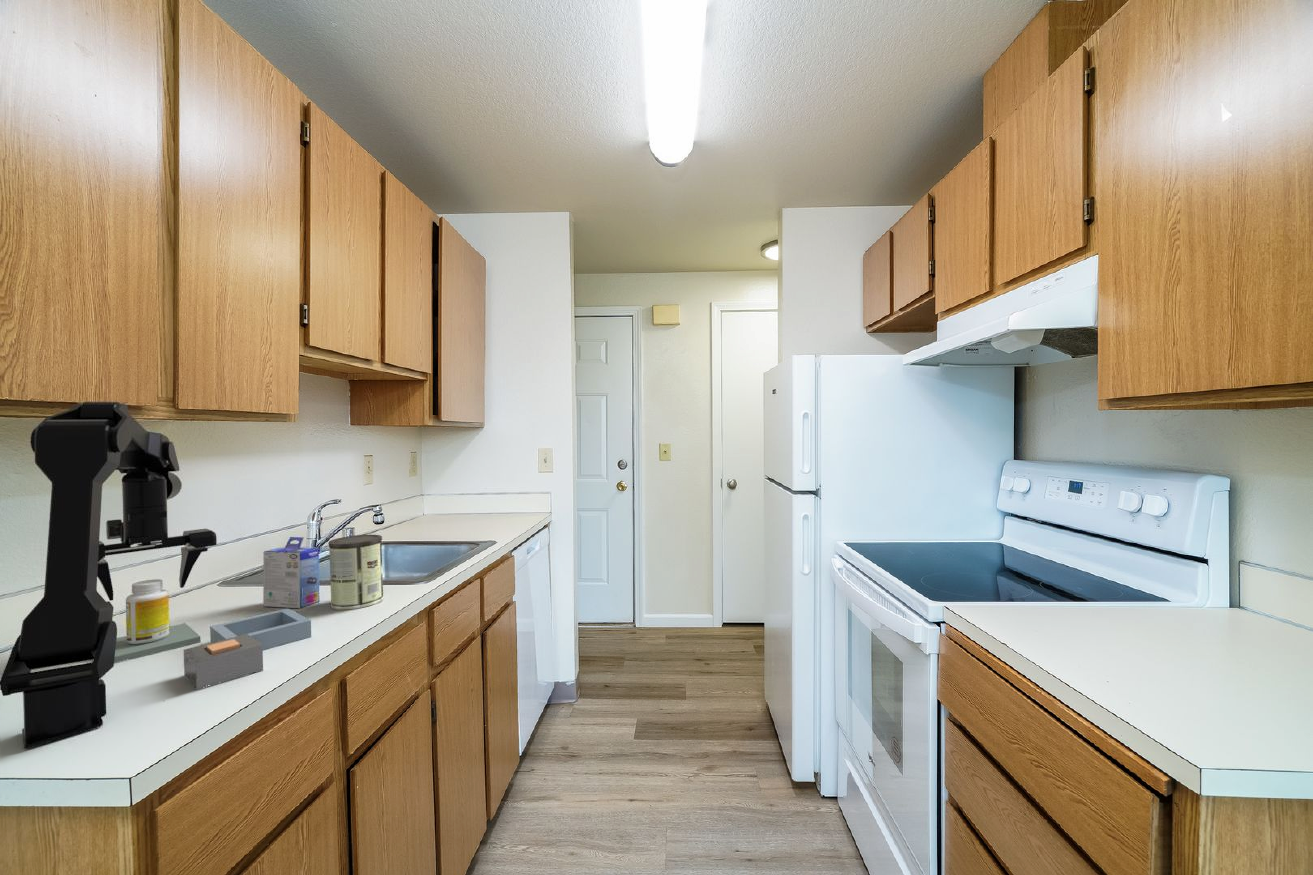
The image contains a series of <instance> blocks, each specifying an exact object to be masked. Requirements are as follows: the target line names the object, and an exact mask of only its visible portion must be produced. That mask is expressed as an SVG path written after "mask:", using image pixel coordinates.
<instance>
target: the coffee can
mask: <svg viewBox="0 0 1313 875" xmlns="http://www.w3.org/2000/svg"><path fill="white" fill-rule="evenodd" d="M382 541H383V536H382V535H380V534H358V535H349V536H348V535H347V536H343V537H338V538H334V539H332V540H329V541H328V546H329V550H328V551H329V575H330V576H329V578H330V579H329V580H330V603H331V604H330V608H331V609H333V610H338V611H339V610H341V611H345V610H357V609H362V608H367V607H371V606H374V605H377V604H379V603H381V602H383V601H384V582H383V581H384V580H383V579H384V578H383V551H382V550H383V548H382V545H383V544H382Z"/></svg>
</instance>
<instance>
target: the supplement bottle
mask: <svg viewBox="0 0 1313 875" xmlns="http://www.w3.org/2000/svg"><path fill="white" fill-rule="evenodd" d="M169 602H170V595H169V591H168V590H167V589H164V587H163V580H162V579H157V578H155V579H146V580H143V581H138V582H134V583H132V584H131V594H130V595H128V596H127V597H126V598H125V621H126V622H125V627H126V636H127V642H128V643H130V644H143V643H149V642H153V641H157V640H160V639H162V638H165V637H166V636H167V635H168V634H169V626H170V604H169Z"/></svg>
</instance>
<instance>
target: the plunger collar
mask: <svg viewBox="0 0 1313 875" xmlns="http://www.w3.org/2000/svg"><path fill="white" fill-rule="evenodd" d="M232 639H234V640H236V641H237V642H238V643H239V644H240V647H238V648H234V649H230V650H226V651H222V652H218V653H215V654H211V655H210V654H209V653H208V652H207V647H206V646H208V645H212V644H216V643H220V642H224V641H228V640H232ZM263 651H264V650H263V645H262V644H261V643H259V642H258V641H256V640H255V639H254V638H252V637H251V636H249V635H248V634H245V635H241V636H237V637H233V638H229V639H225V640H221V641H217V642H212V643H211V642H209V643H205V644H204V643H203V644H201V645H197V646H193V647H189V648H185V649H183V676H184V677H185V678H186V680H187V681H188V682H189V681H190V682H191V683H190V682H189V683H190V684H191V685H192V686H193V685H194V686H193V688H194V689H195V688H196V689H199V690H202V689H201V688H203V687H206V686H208V685H213V686H215V685H214V684H216V685H218V684H217V683H219V682H223V681H226V682H229V681H232V680H231V679H233V680H236V679H239V678H238V677H240V676H243V677H245V676H244V675H246V676H248V675H247V674H250V673H253V672H256V673H259V672H258V671H260V672H262V670H263V671H264V655H263V654H264V653H263ZM253 674H254V673H253ZM250 675H251V674H250ZM235 678H236V679H235ZM240 678H241V677H240ZM228 680H229V681H228ZM223 683H224V682H223ZM219 684H220V683H219ZM206 688H207V687H206ZM196 689H195V690H196ZM203 689H204V688H203Z"/></svg>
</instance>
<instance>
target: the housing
mask: <svg viewBox="0 0 1313 875" xmlns="http://www.w3.org/2000/svg"><path fill="white" fill-rule="evenodd" d="M209 633H210V634H209V637H210V640H209V641H210V643H212V642H217V641H221V640H225V639H229V638H233V637H237V636H241V635H245V634H248V635H249V636H251V637H252V638H254V639H255V640H256V641H258V642H259V643H261V644H262V645H263V651H264V650H267V649H268V650H269V649H271V648H274V647H275V646H276V647H280V646H282V645H286V644H290V643H294V642H298V641H300V640H305V639H309V638H312V620H311V619H309V618H307V617H305V616H304V615H301V614H300V613H297V612H296V611H294V610H292V609H290V608H287V607H286V608H283V609H280V610H279V609H278V610H274V611H270V612H266V613H261V614H257V615H252V616H248V617H243V618H239V619H234V620H231V621H225V622H222V623H218V624H214V625H210V626H209Z"/></svg>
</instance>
